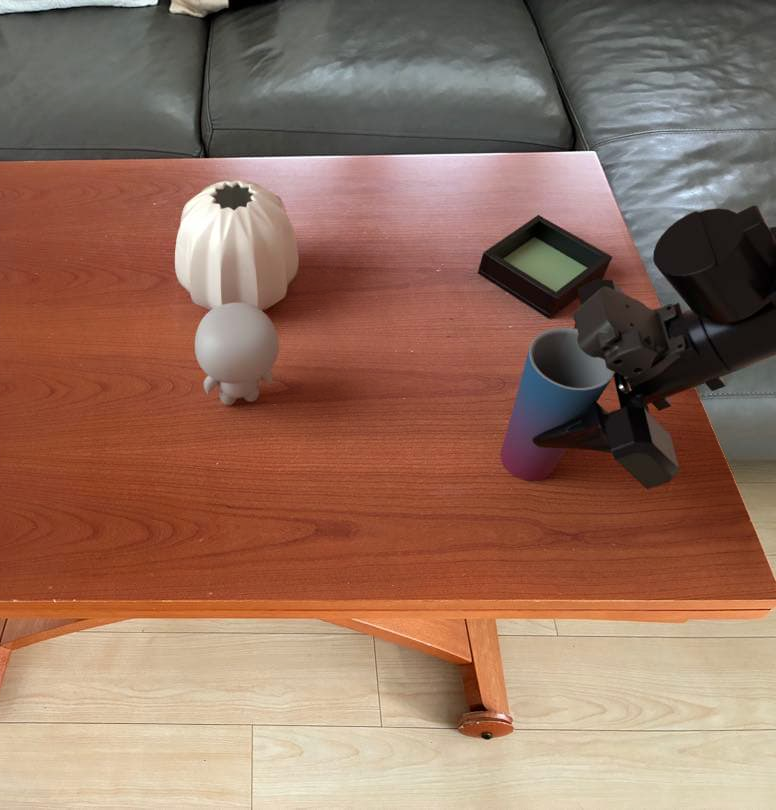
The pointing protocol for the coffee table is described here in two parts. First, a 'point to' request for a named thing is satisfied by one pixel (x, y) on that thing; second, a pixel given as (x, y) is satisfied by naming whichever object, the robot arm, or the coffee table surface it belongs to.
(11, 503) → the coffee table surface
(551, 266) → the tray
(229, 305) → the figurine
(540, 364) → the cup
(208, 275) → the vase
